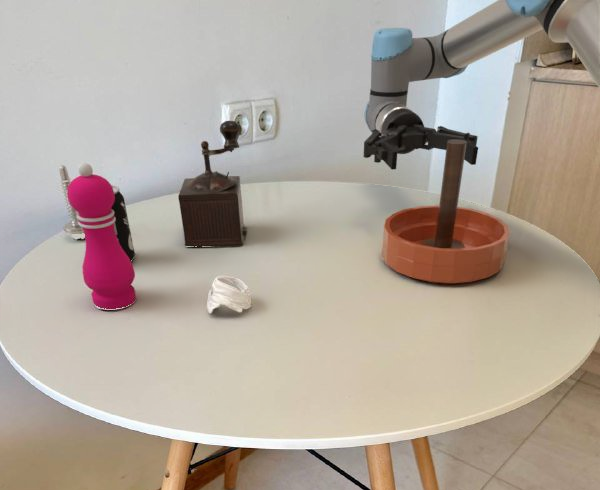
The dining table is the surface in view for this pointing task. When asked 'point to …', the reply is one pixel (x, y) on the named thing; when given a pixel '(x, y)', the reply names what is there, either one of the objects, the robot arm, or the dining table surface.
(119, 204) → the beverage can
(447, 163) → the brown peg stand
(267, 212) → the dining table surface
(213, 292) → the white turban
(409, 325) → the dining table surface
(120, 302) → the pepper mill
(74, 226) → the screw
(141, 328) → the dining table surface
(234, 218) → the manual coffee grinder
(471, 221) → the bowl
